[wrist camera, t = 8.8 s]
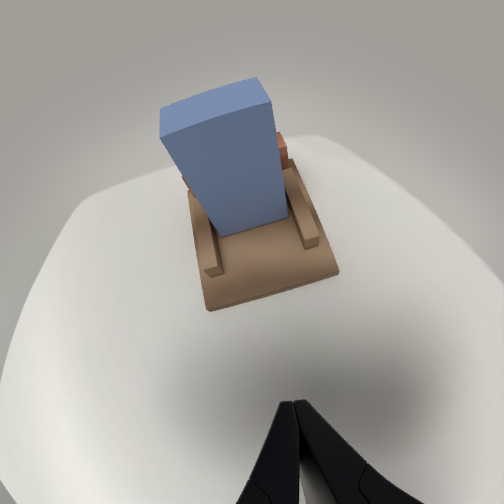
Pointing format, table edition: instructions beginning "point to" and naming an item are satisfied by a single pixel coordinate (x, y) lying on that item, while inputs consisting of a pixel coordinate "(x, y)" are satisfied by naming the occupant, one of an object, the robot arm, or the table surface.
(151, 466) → the table surface
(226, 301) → the housing
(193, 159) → the blue rectangular block
